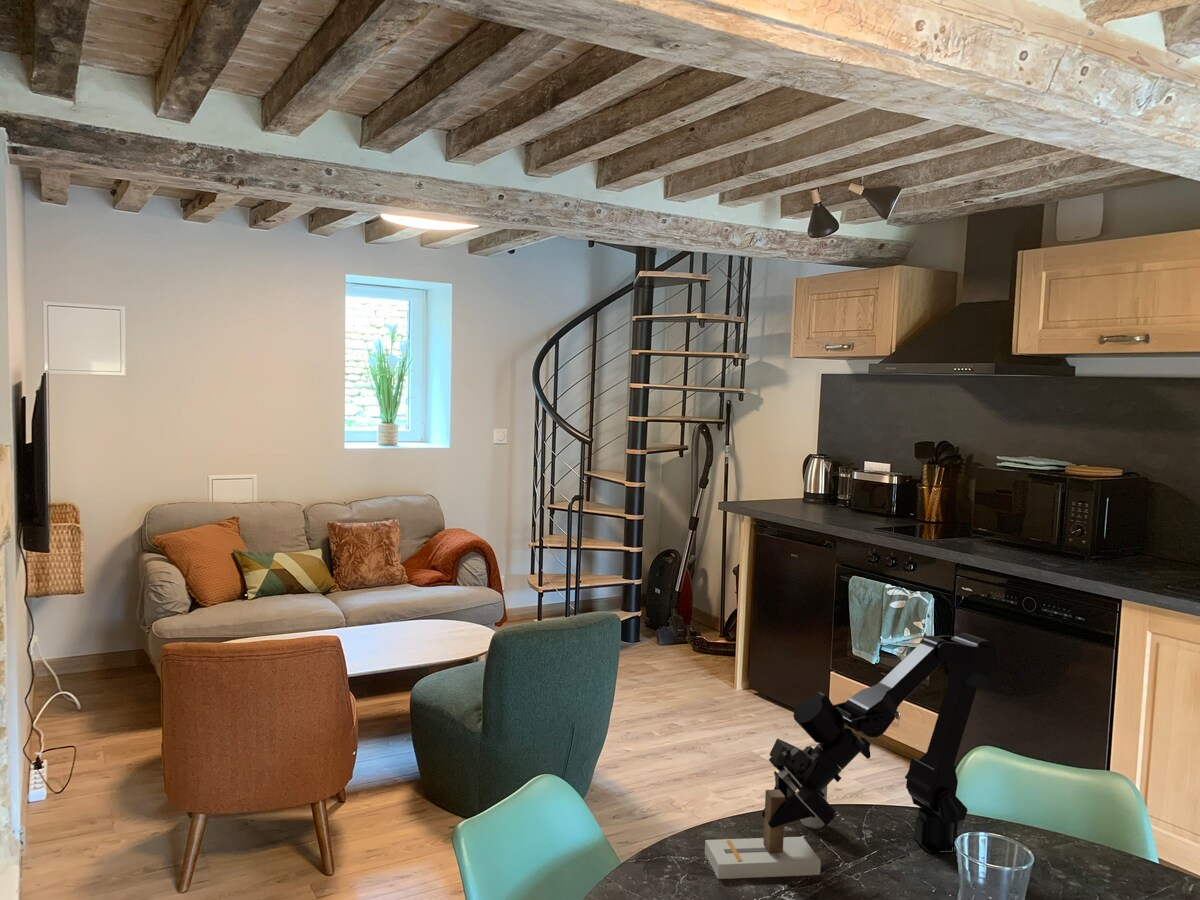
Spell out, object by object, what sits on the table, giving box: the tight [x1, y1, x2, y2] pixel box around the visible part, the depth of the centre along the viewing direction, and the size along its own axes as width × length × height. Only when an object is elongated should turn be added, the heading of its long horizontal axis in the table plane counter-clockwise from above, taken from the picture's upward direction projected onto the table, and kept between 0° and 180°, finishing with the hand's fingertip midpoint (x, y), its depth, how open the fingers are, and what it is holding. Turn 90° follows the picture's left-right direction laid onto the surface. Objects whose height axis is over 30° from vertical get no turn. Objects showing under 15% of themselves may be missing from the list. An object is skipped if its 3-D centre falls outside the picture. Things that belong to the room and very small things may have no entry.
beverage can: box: [800, 785, 828, 830], centre depth 172 cm, size 5×5×12 cm
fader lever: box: [763, 789, 785, 852], centre depth 156 cm, size 2×3×10 cm
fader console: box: [704, 836, 822, 880], centre depth 156 cm, size 18×9×3 cm, turn 98°
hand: (766, 821), depth 156 cm, fingers closed on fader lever, 3 cm apart
